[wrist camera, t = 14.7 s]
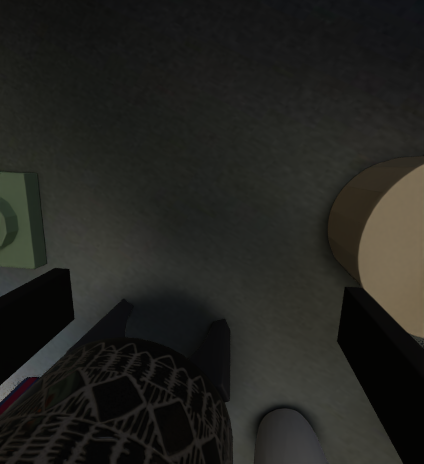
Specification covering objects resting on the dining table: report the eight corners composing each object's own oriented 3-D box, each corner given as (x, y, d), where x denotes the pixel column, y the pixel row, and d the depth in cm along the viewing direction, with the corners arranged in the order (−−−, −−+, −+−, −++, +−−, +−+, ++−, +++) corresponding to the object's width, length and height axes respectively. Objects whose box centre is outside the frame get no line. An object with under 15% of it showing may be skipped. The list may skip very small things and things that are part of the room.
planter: (209, 254, 34) (105, 513, 9) (261, 383, 37) (299, 847, 12) (78, 299, 38) (-271, 576, 12) (136, 413, 41) (-41, 818, 15)
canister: (337, 156, 30) (378, 150, 21) (483, 161, 28) (597, 157, 19) (319, 280, 33) (348, 323, 24) (449, 290, 32) (532, 340, 23)
